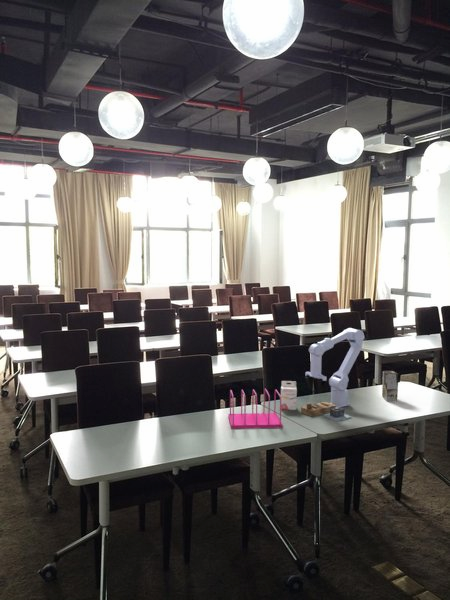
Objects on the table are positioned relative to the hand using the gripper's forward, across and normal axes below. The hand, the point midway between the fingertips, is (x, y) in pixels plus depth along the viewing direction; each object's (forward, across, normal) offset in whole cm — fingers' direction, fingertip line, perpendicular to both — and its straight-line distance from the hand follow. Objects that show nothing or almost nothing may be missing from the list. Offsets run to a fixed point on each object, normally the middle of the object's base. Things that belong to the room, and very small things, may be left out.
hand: (315, 391), depth 273 cm
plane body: (+9, +6, -3) cm, 12 cm away
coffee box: (+10, +11, +48) cm, 50 cm away
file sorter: (+10, +1, -42) cm, 43 cm away
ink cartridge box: (+10, -7, -13) cm, 18 cm away
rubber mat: (+9, +18, -1) cm, 20 cm away
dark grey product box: (+9, +18, -1) cm, 20 cm away
